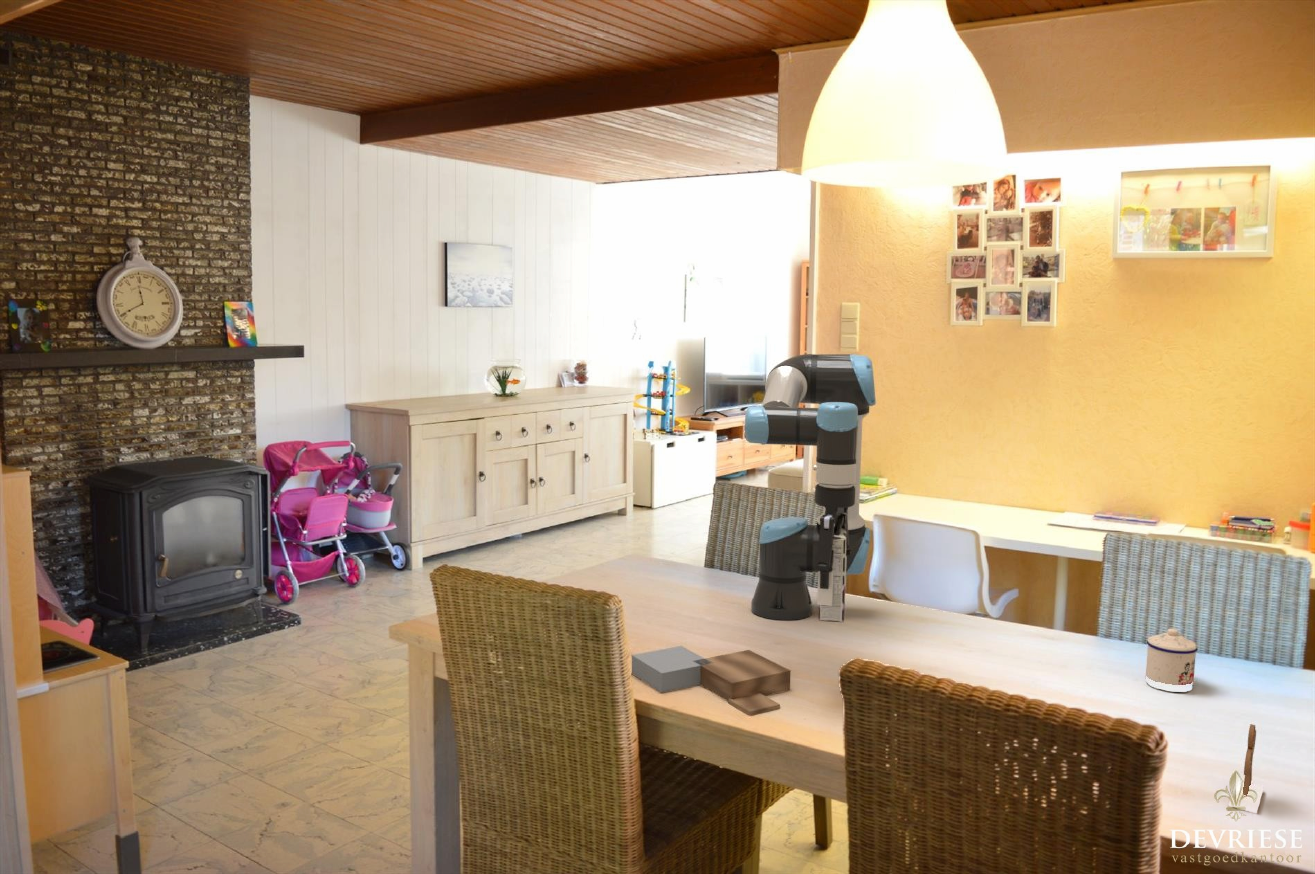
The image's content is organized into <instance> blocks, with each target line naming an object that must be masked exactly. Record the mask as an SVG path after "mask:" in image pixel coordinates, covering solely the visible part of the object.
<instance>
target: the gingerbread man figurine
mask: <svg viewBox="0 0 1315 874" xmlns="http://www.w3.org/2000/svg"><path fill="white" fill-rule="evenodd" d="M1249 725H1250V726H1249V729H1248V733H1247V734H1248V736H1247V750H1246V753H1245V759H1244V767H1243V775H1244V780H1243V782H1244V787H1243V794H1244V795H1246V796H1247V794H1248V791H1249V786H1250V785H1251V781H1252V780H1253V778H1252V777H1253V775H1252V774H1253V773H1252V772H1253V759H1254V753H1255V746H1256V740H1257V730H1256V724H1253V723H1251V724H1249Z"/></svg>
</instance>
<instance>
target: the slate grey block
mask: <svg viewBox="0 0 1315 874" xmlns="http://www.w3.org/2000/svg"><path fill="white" fill-rule="evenodd" d="M700 659H702V661H703V659H705V657H703V656H701V655H700V654H697V653H695V652H694V651H692V650H691V649H688V648H686V647H684V646H682V645H678V646H673V647H668V648H663V649H657V650H652V651H647V652H642V653H637V654H631V675H633V676H634V677H635V678H637V679H639V680H640V681H642V682H643V683H645V684H647V685H648V686H650V687H651V688H653V689H654V690H656V691H657V692H660V693H661V694H664V693H668V692H672V691H677V690H683V689H689V688H692V687H697V686H701V685H700V671H701V665H703V664H704V662H701V663H703V664H701V663H700V664H701V665H700V664H697V663H695V662H693V661H696V660H698V661H701V660H700ZM706 661H707V660H706ZM708 662H709V661H708ZM705 663H706V662H705ZM709 663H712V662H709ZM709 663H708V664H709ZM705 665H706V664H705Z"/></svg>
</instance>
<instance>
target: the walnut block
mask: <svg viewBox="0 0 1315 874" xmlns="http://www.w3.org/2000/svg"><path fill="white" fill-rule="evenodd" d="M704 658H705V657H704ZM700 660H701V661H698V660H696V661H693V662H695V663H697V664H700V663H701V662H704V664H703V663H701V664H703V665H701V664H700V665H701V671H700V685H699V686H701V687H704V689H706V690H708V691H710V692H712V693H713V694H715V695H717V696H719V697H720V698H722V699H724V700H725V701H727V702H728V699H736V698H740V697H744V696H749V695H753V694H758V693H760V694H762V695H764V696H766V697H767V696H769V695H774V694H779V693H783V692H788V691H791V677H792V676H791V675H792V673H791V671H792V670H790V669H789V668H786V667H784V666H782V665H780V664H778V663H776V662H775V661H772V660H770V659H769V658H767V657H764V656H763V655H760V654H759V653H756V652H755V651H752V650H751V649H746V650H742V651H741V650H740V651H736V652H731V653H726V654H722V655H715V656H711V657H706V658H705V659H703V661H702V659H700ZM706 660H707V661H706ZM708 661H709V662H712V663H709V662H708ZM705 662H706V663H705ZM708 663H709V664H708ZM705 664H706V665H705Z"/></svg>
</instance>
